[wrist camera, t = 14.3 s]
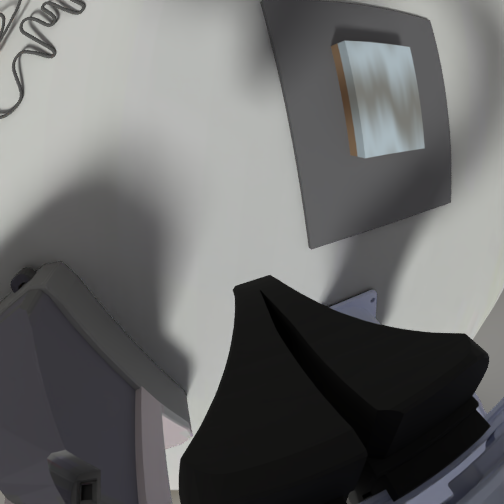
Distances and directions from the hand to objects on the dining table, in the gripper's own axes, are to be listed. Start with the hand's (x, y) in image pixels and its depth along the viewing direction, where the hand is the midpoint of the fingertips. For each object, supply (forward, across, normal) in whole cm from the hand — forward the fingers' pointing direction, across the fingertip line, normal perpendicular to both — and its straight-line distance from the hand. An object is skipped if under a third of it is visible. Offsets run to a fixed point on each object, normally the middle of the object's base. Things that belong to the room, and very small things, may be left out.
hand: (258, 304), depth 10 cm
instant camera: (+10, +18, +9) cm, 23 cm away
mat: (+10, -14, -5) cm, 18 cm away
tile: (+9, -16, -6) cm, 19 cm away
